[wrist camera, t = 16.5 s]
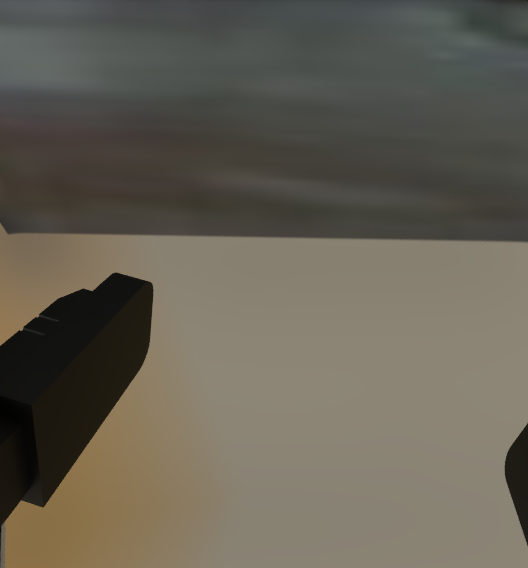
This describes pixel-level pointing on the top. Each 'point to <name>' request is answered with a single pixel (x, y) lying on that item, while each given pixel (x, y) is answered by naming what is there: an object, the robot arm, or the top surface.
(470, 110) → the top surface
